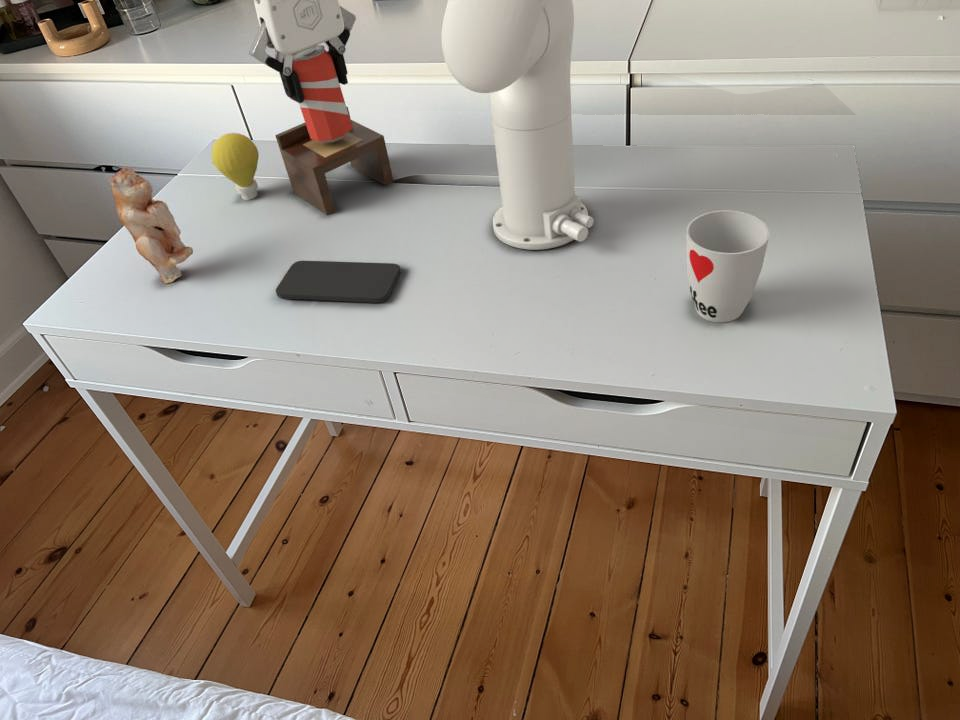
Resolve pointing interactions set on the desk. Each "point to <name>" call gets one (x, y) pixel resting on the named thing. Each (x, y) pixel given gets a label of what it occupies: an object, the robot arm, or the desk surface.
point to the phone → (339, 281)
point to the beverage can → (321, 95)
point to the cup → (724, 262)
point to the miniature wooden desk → (331, 160)
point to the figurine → (149, 223)
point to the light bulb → (237, 162)
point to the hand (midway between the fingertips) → (318, 89)
